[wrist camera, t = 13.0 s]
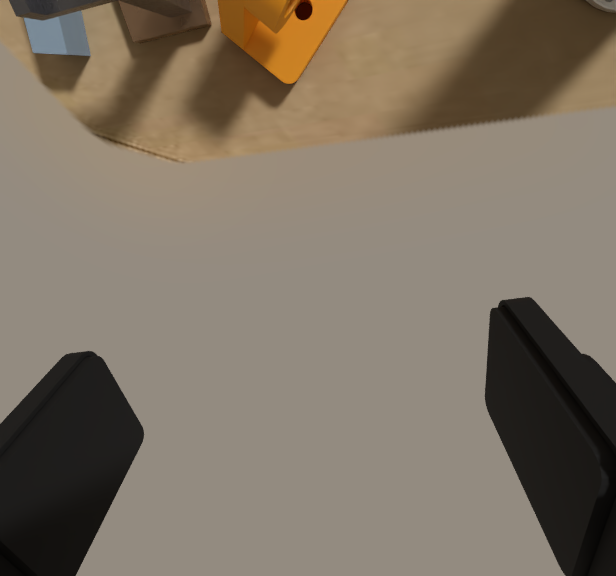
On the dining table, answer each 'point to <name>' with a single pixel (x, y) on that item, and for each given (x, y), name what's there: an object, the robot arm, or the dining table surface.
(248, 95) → the dining table surface
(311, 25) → the bracket
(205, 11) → the stand
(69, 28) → the rail
